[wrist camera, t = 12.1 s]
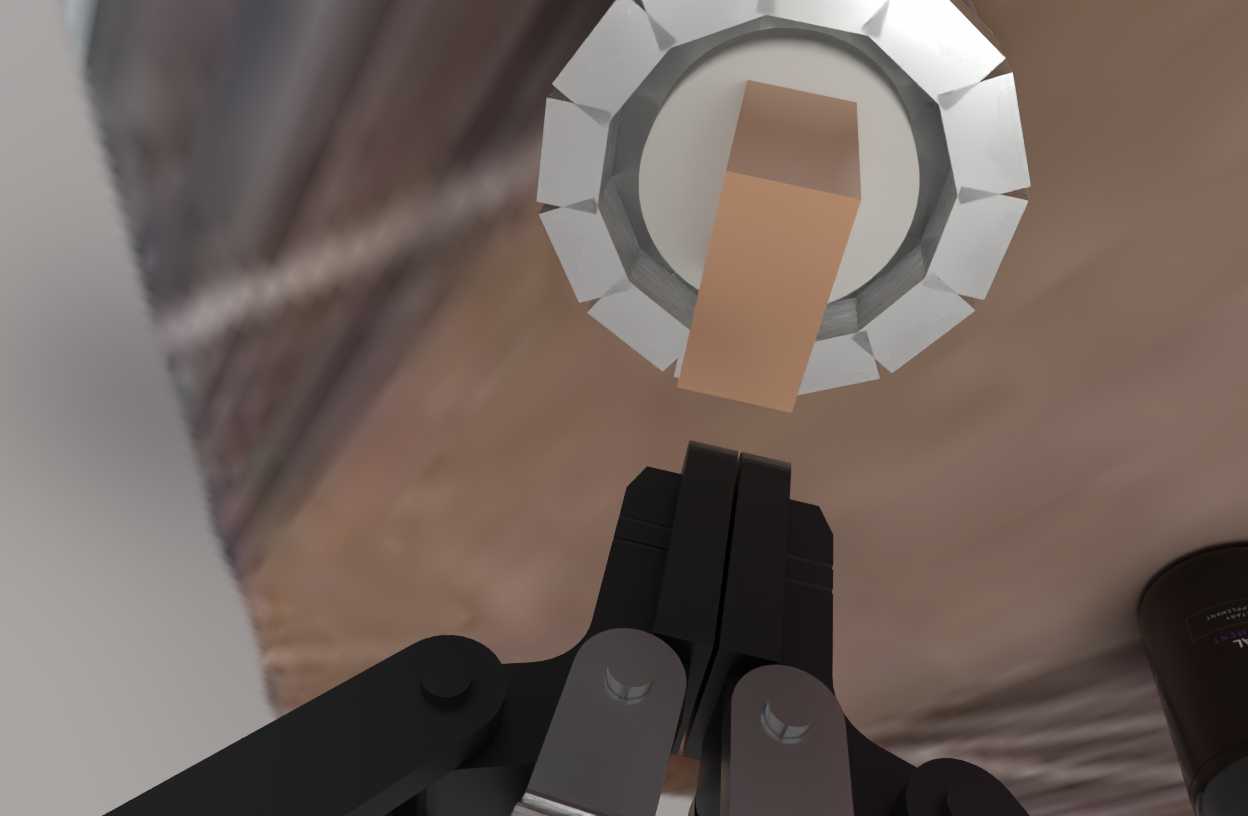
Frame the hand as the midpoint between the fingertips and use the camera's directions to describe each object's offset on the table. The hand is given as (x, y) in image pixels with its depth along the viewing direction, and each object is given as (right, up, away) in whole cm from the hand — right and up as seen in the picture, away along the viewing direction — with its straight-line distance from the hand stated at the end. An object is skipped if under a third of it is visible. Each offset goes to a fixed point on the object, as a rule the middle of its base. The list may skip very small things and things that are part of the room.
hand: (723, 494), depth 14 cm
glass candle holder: (+3, +10, +14) cm, 17 cm away
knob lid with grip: (+2, +7, +9) cm, 12 cm away
